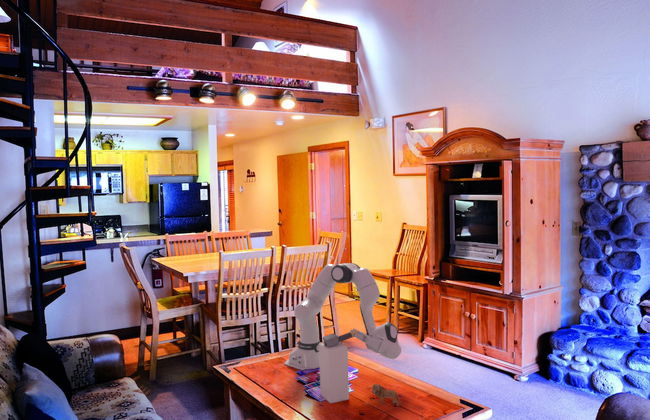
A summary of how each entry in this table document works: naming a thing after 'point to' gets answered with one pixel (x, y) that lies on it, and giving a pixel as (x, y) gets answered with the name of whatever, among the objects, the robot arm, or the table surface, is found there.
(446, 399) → the table surface
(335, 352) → the stand
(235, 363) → the table surface
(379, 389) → the lion figurine
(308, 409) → the table surface
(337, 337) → the dark grey elongated piece
